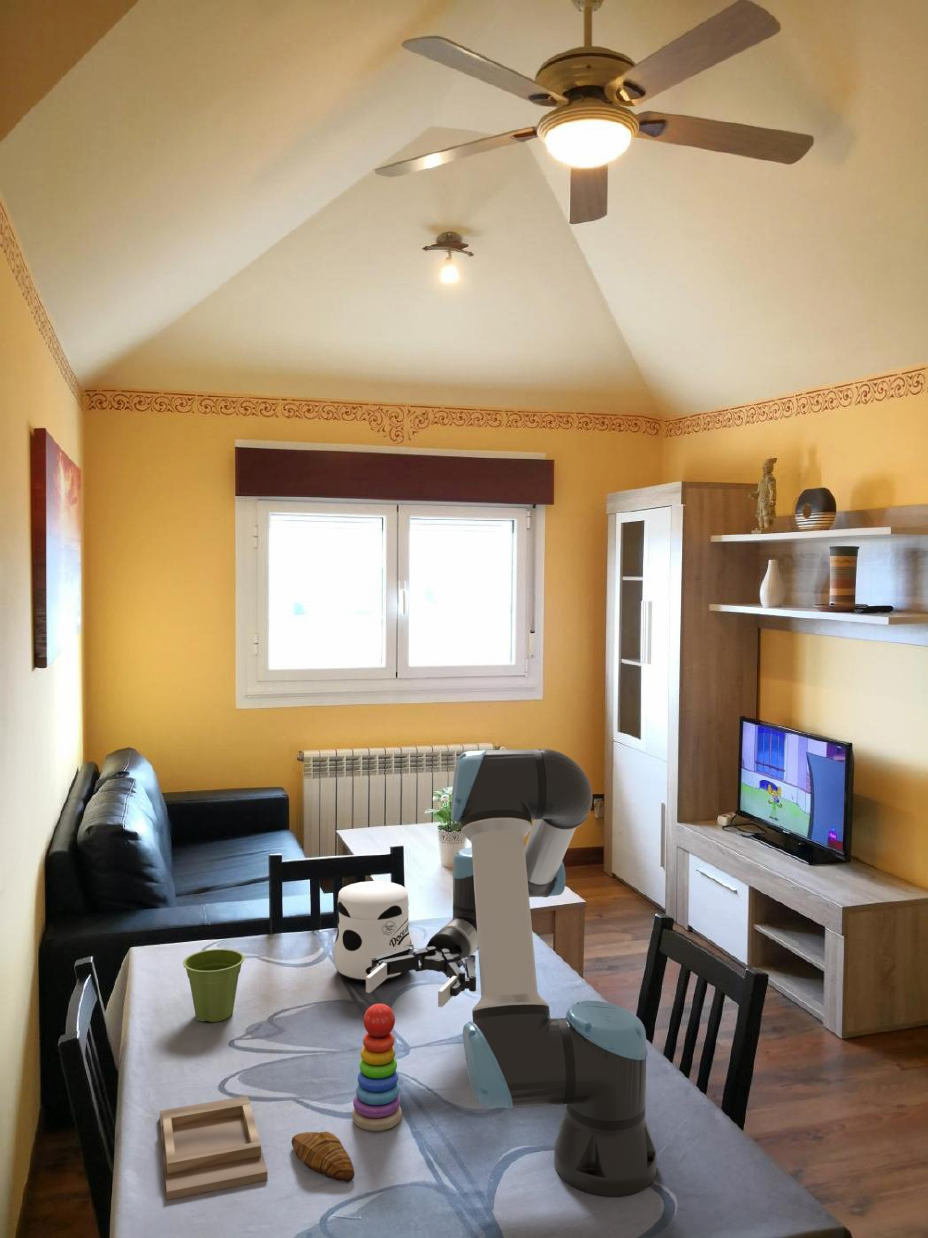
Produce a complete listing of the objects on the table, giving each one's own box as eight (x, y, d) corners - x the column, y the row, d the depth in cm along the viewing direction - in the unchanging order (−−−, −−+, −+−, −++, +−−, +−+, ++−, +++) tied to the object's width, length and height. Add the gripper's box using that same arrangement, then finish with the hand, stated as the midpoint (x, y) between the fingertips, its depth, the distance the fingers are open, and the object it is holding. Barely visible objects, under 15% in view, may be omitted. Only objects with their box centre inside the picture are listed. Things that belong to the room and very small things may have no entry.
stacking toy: (394, 1136, 155) (394, 1019, 154) (345, 1130, 156) (345, 1014, 156) (407, 1109, 163) (407, 998, 162) (360, 1104, 164) (360, 993, 163)
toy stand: (267, 1180, 144) (267, 1162, 144) (167, 1200, 139) (166, 1181, 139) (247, 1102, 164) (247, 1087, 164) (159, 1118, 160) (159, 1102, 160)
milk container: (423, 981, 213) (423, 899, 212) (344, 994, 207) (344, 909, 206) (398, 952, 229) (398, 876, 228) (325, 963, 223) (324, 884, 222)
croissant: (275, 1157, 150) (275, 1125, 149) (311, 1138, 155) (311, 1107, 154) (332, 1196, 140) (332, 1162, 140) (368, 1175, 145) (368, 1142, 145)
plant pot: (257, 1010, 199) (257, 955, 198) (214, 1034, 189) (214, 976, 188) (214, 997, 205) (213, 944, 204) (170, 1019, 195) (169, 963, 194)
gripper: (514, 977, 183) (471, 1027, 164) (393, 955, 193) (339, 1000, 173) (514, 937, 183) (471, 983, 163) (393, 917, 192) (339, 958, 173)
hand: (403, 992), depth 168 cm, fingers open, 13 cm apart
